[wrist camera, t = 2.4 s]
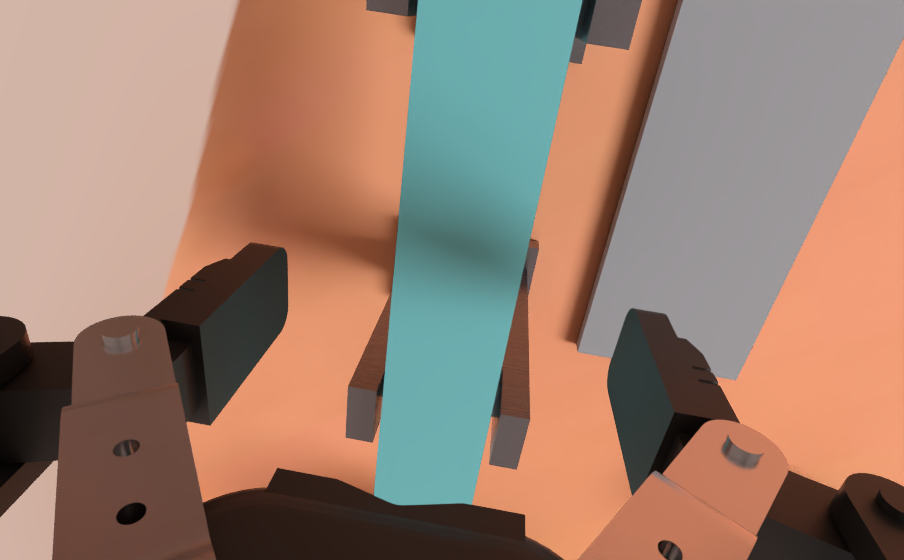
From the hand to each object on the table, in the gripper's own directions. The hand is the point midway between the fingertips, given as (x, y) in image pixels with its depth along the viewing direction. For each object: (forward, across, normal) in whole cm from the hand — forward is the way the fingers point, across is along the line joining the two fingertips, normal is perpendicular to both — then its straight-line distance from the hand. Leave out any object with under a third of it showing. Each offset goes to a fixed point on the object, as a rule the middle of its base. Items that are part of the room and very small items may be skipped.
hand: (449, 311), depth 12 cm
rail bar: (+6, 0, 0) cm, 6 cm away
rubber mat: (+16, -12, -1) cm, 20 cm away
